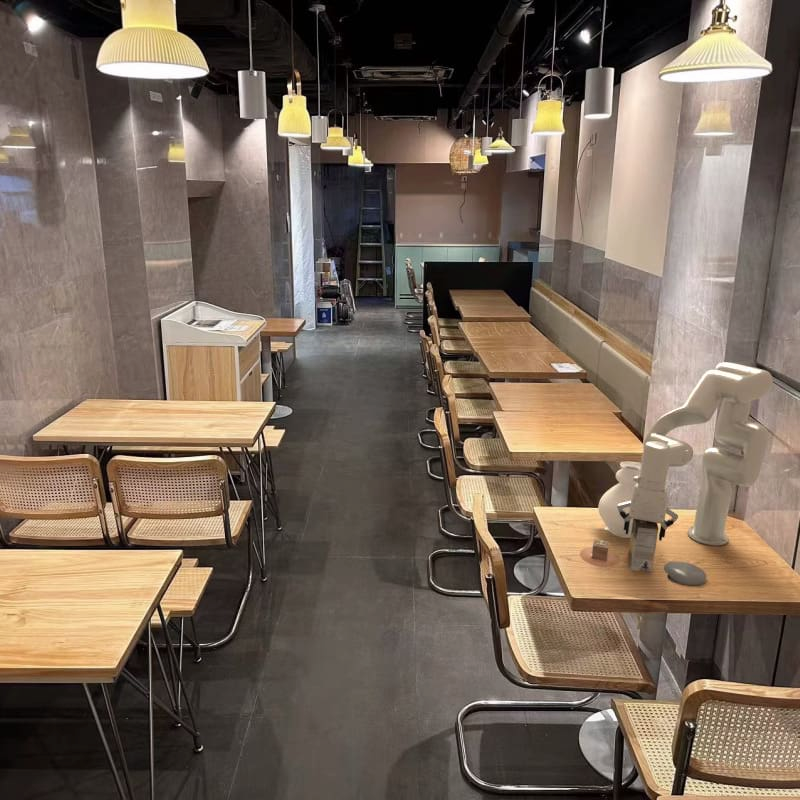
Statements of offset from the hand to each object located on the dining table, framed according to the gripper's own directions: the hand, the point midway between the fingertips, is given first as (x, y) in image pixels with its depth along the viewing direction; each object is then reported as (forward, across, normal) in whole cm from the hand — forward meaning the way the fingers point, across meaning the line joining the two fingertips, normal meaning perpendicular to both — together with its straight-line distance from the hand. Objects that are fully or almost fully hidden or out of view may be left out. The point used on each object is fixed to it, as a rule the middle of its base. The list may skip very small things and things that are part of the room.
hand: (643, 535), depth 210 cm
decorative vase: (+11, -6, +22) cm, 25 cm away
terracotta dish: (+11, -12, 0) cm, 16 cm away
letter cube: (+10, -12, 0) cm, 15 cm away
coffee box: (+11, 0, +1) cm, 11 cm away
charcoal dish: (+11, +13, +1) cm, 17 cm away
